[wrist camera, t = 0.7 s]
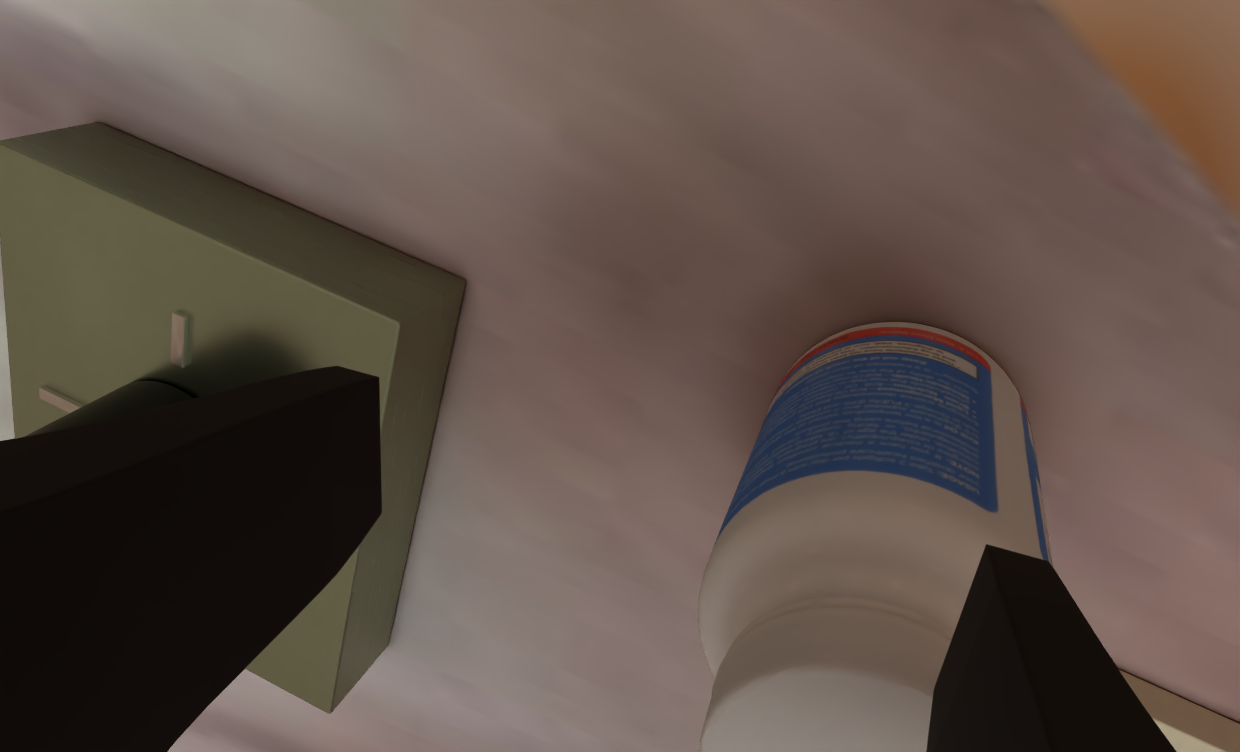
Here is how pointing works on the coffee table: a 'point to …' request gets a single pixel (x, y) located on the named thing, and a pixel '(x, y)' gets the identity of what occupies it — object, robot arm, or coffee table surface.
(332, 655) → the panel
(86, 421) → the dial
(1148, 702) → the switch block
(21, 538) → the robot arm
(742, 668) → the pill bottle
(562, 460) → the coffee table surface
